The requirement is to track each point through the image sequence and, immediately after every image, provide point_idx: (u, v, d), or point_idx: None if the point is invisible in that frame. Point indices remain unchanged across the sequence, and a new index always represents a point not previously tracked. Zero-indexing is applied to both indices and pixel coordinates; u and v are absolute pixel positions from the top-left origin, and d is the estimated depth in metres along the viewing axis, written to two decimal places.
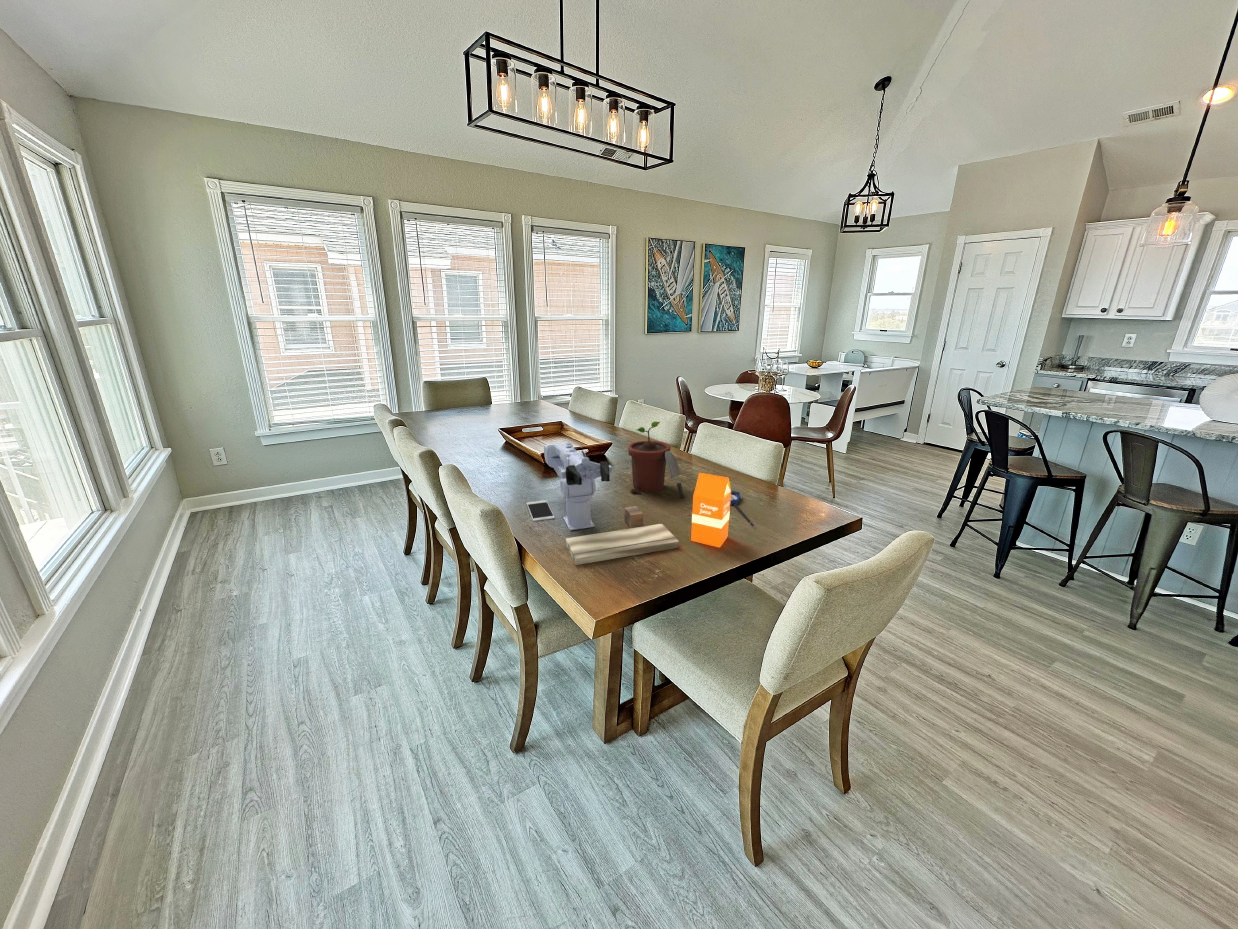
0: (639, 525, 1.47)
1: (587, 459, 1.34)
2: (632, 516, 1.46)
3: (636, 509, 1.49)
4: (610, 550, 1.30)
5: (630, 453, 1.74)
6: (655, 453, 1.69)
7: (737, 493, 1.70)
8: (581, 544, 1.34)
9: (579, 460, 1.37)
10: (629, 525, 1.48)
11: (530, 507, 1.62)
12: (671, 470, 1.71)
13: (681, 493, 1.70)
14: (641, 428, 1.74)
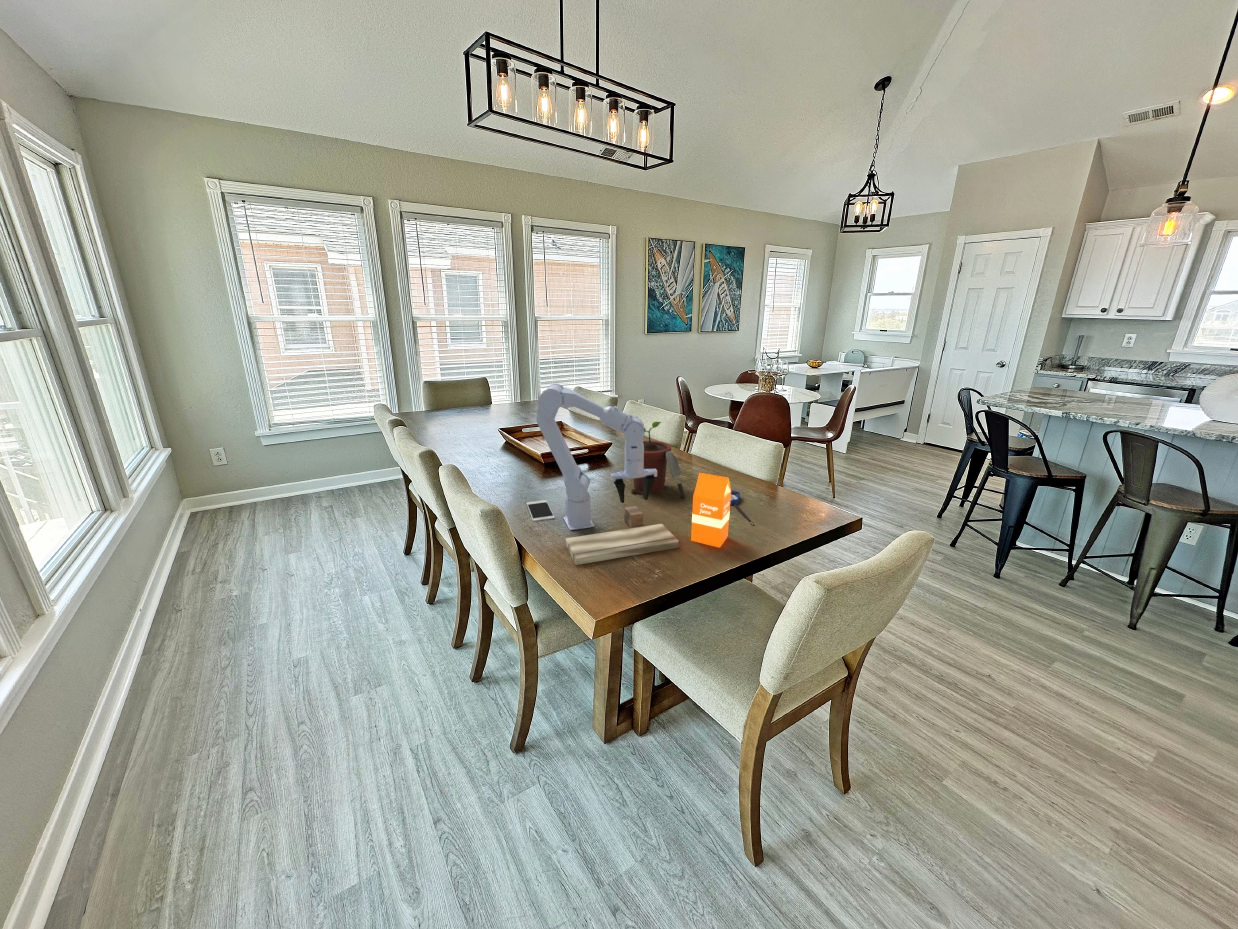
0: (639, 525, 1.47)
1: None
2: (632, 516, 1.46)
3: (636, 509, 1.49)
4: (610, 550, 1.30)
5: None
6: (656, 453, 1.69)
7: (737, 493, 1.70)
8: (581, 544, 1.34)
9: None
10: (629, 525, 1.48)
11: (530, 507, 1.62)
12: (672, 470, 1.71)
13: (682, 493, 1.70)
14: None
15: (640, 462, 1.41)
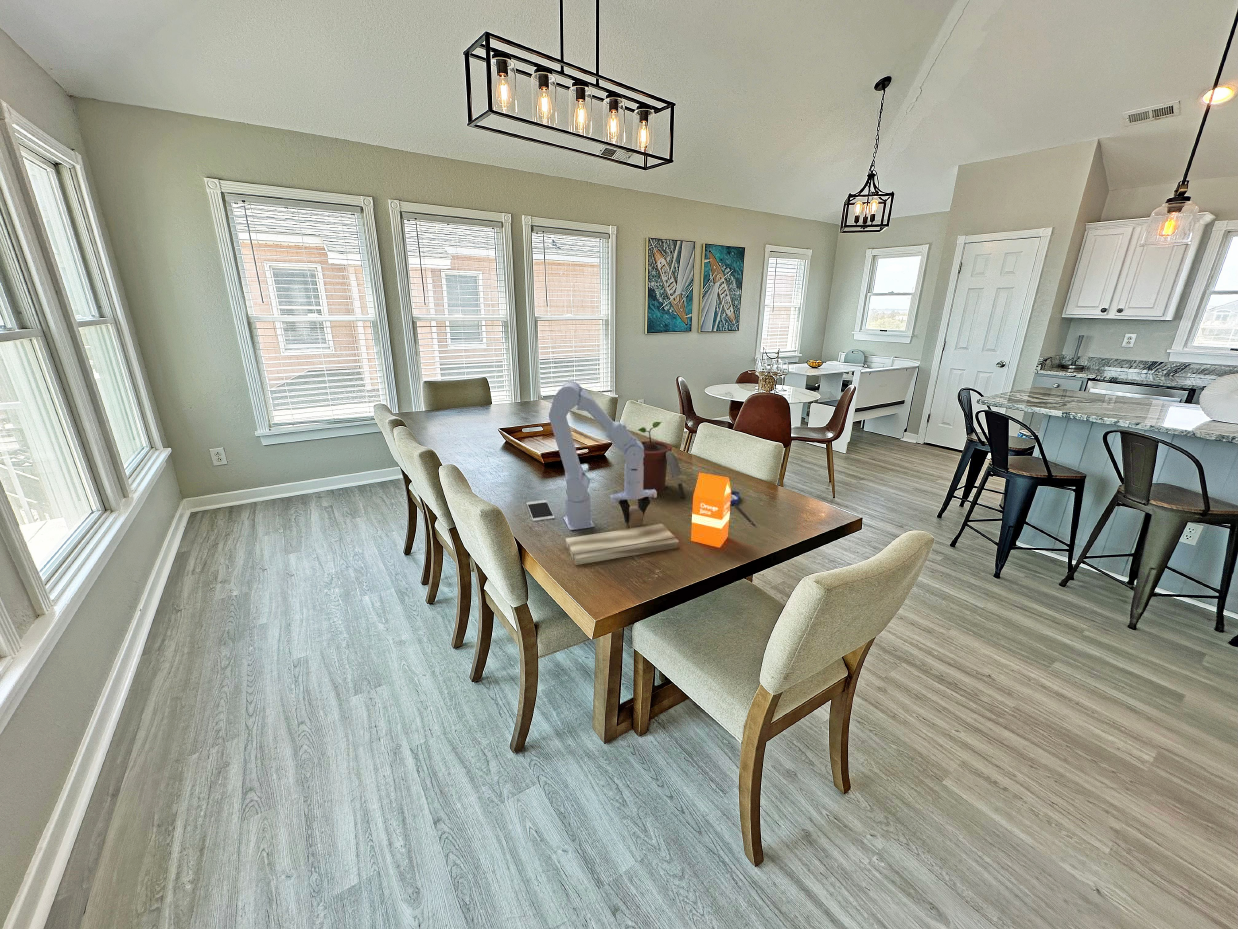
0: (639, 525, 1.47)
1: None
2: (632, 516, 1.46)
3: (636, 509, 1.49)
4: (610, 550, 1.30)
5: None
6: (656, 453, 1.69)
7: (737, 493, 1.70)
8: (581, 544, 1.34)
9: None
10: (629, 525, 1.48)
11: (530, 507, 1.62)
12: (672, 470, 1.71)
13: (682, 493, 1.70)
14: (642, 428, 1.73)
15: (640, 484, 1.44)
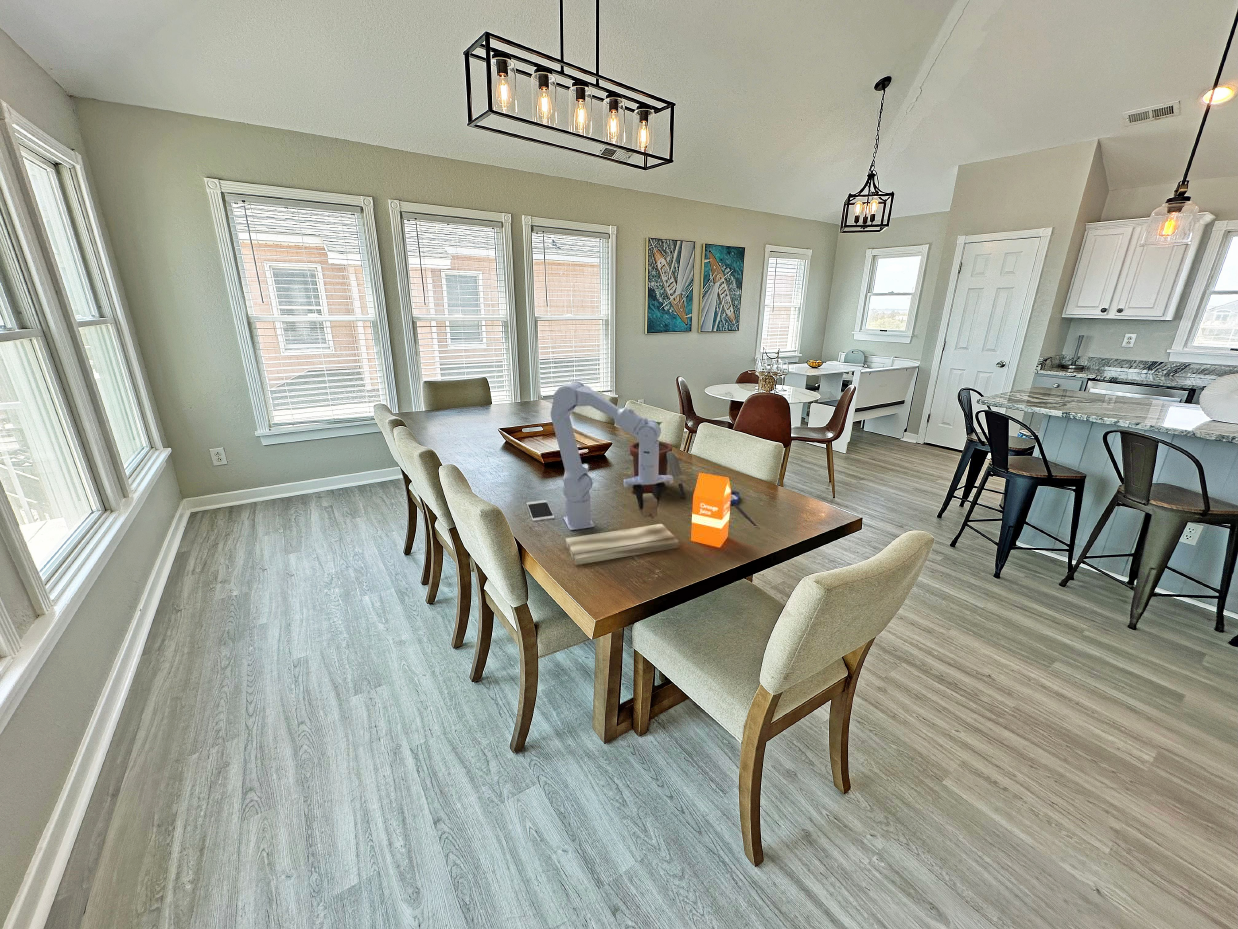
0: (653, 513, 1.40)
1: None
2: (645, 503, 1.38)
3: (650, 496, 1.42)
4: (610, 550, 1.30)
5: (632, 453, 1.74)
6: None
7: (737, 493, 1.70)
8: (581, 544, 1.34)
9: None
10: (642, 513, 1.40)
11: (530, 507, 1.62)
12: (673, 470, 1.71)
13: (682, 493, 1.70)
14: None
15: (654, 468, 1.36)
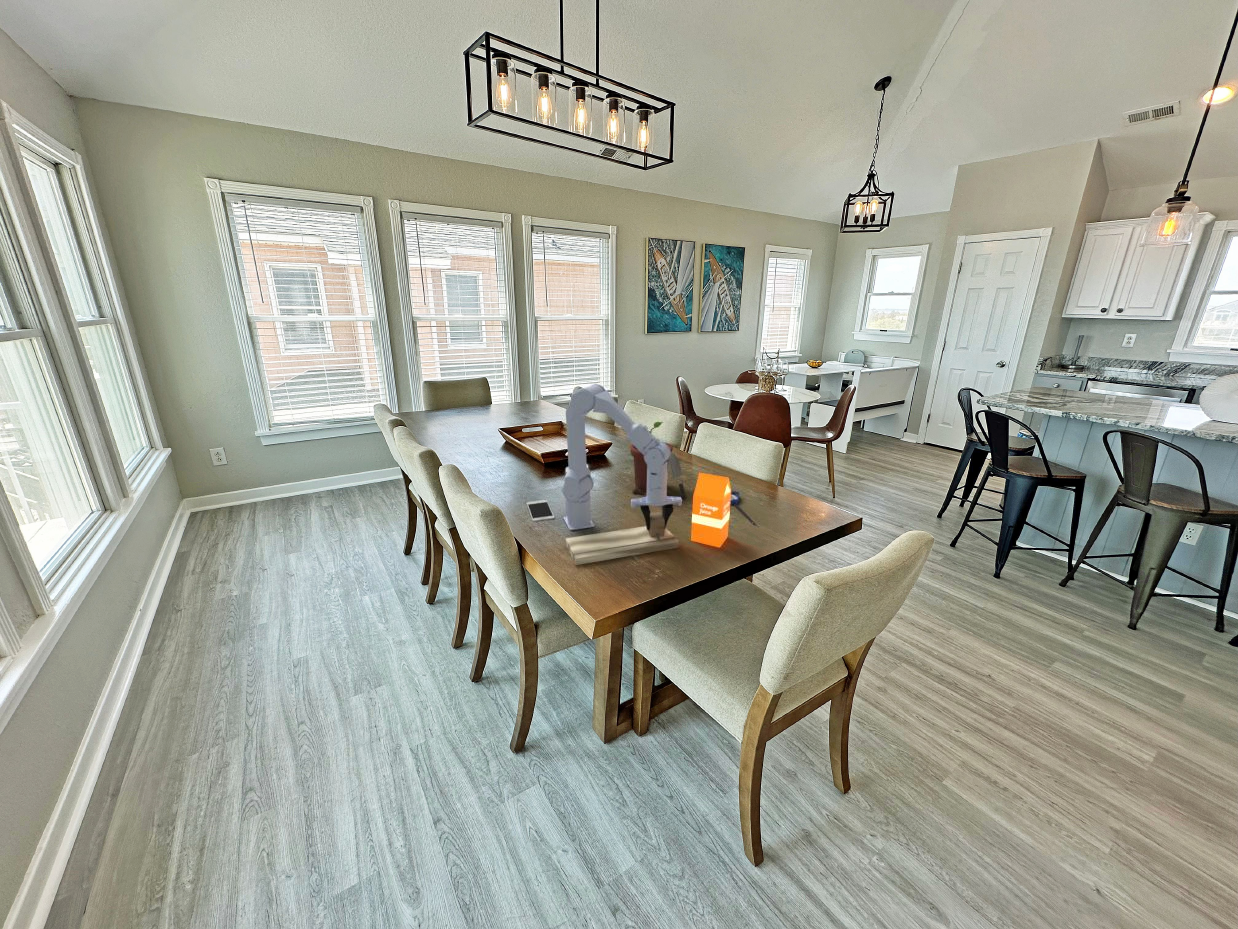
0: (660, 533, 1.38)
1: None
2: (652, 523, 1.36)
3: (658, 515, 1.40)
4: (610, 550, 1.30)
5: (632, 453, 1.73)
6: None
7: (736, 493, 1.70)
8: (581, 544, 1.34)
9: None
10: (649, 532, 1.39)
11: (530, 507, 1.62)
12: (673, 470, 1.71)
13: (683, 494, 1.70)
14: None
15: (662, 490, 1.34)
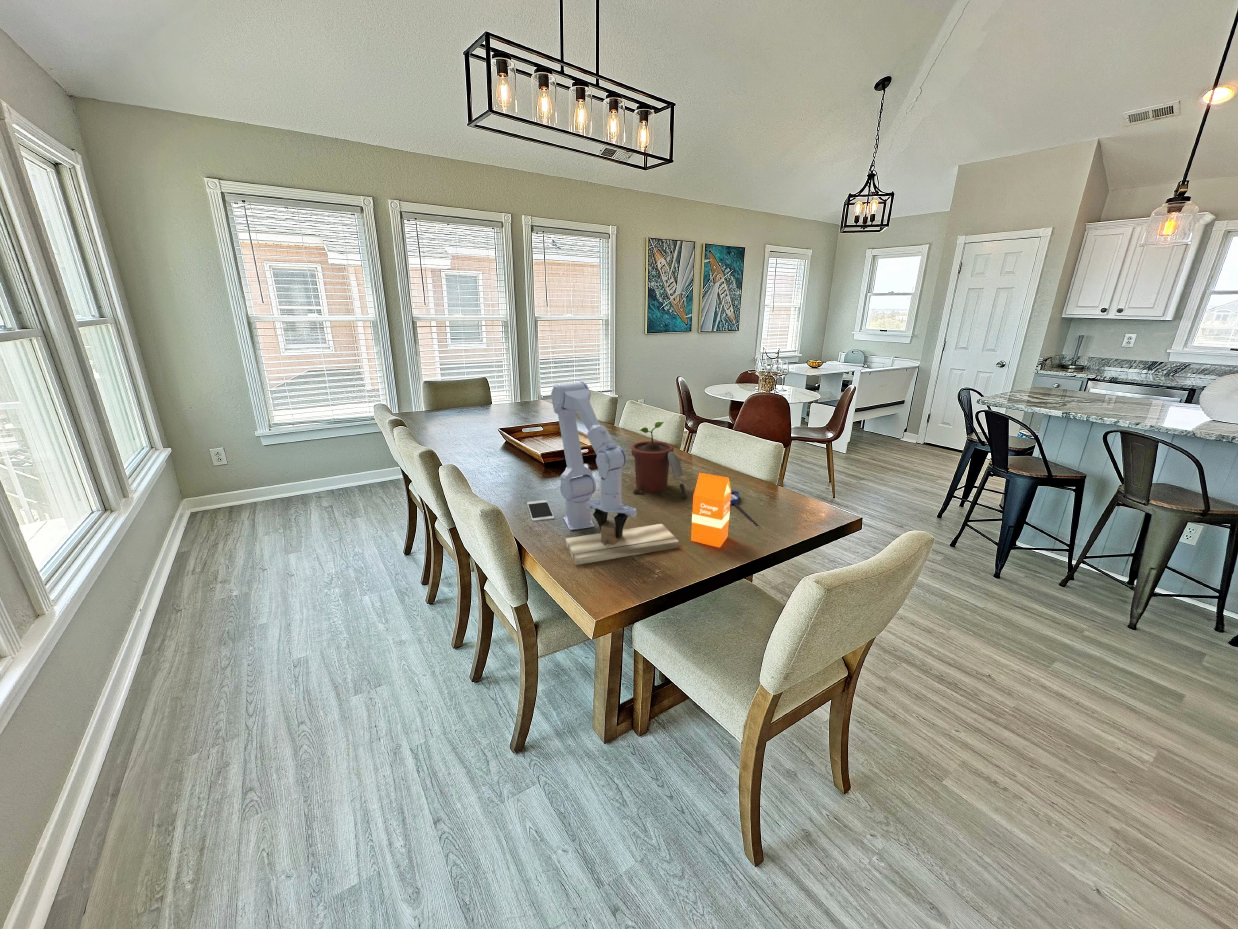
0: (610, 540, 1.33)
1: None
2: (602, 528, 1.33)
3: None
4: (610, 550, 1.30)
5: (633, 453, 1.73)
6: (658, 453, 1.69)
7: (736, 492, 1.70)
8: (581, 544, 1.34)
9: None
10: None
11: (530, 507, 1.62)
12: (674, 471, 1.71)
13: (684, 494, 1.69)
14: (644, 428, 1.73)
15: (610, 496, 1.29)
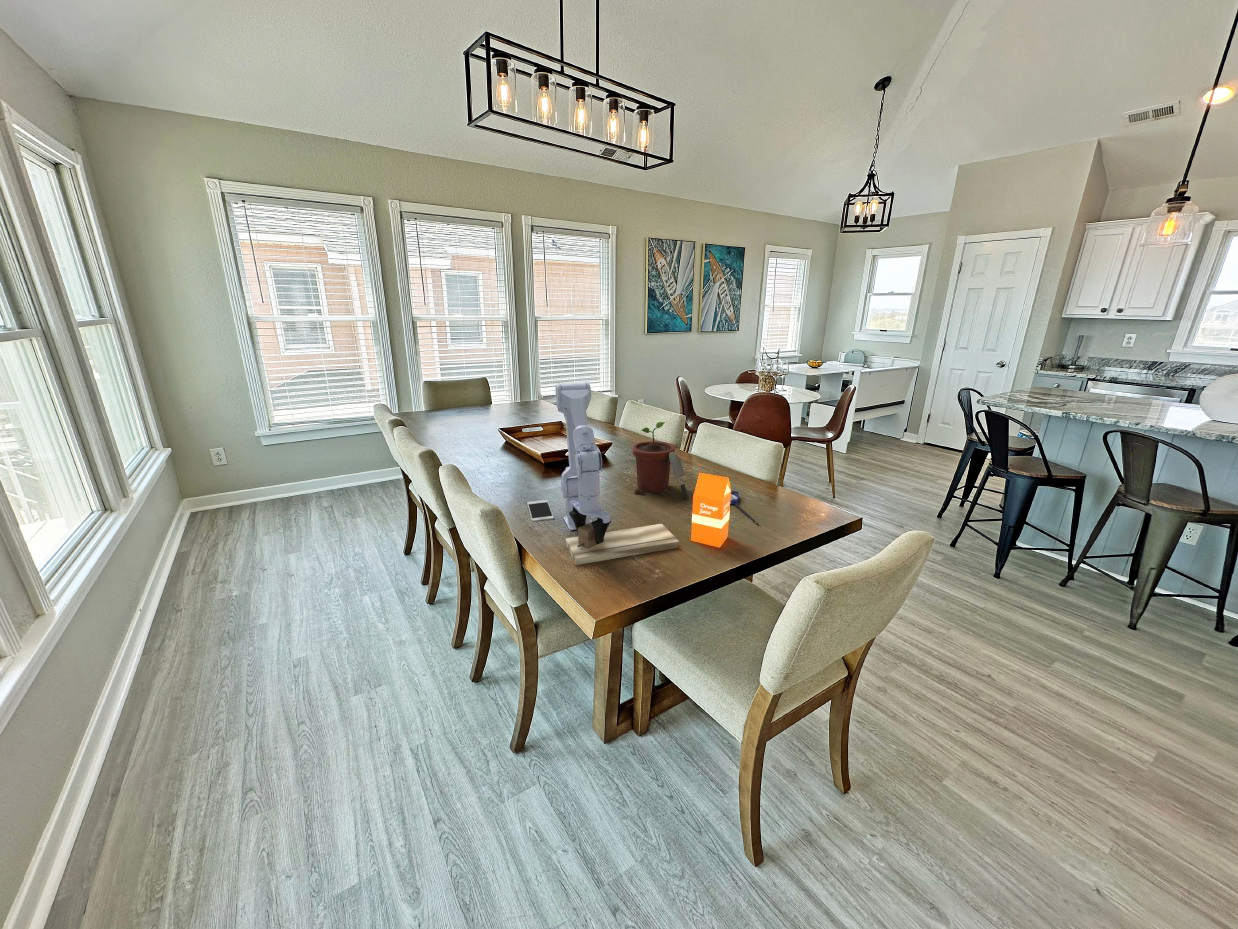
0: (585, 543, 1.32)
1: None
2: (579, 530, 1.32)
3: None
4: (610, 550, 1.30)
5: (634, 453, 1.73)
6: (659, 454, 1.68)
7: (736, 492, 1.70)
8: None
9: None
10: None
11: (530, 507, 1.62)
12: (675, 471, 1.70)
13: (685, 494, 1.69)
14: (646, 428, 1.73)
15: (584, 499, 1.27)
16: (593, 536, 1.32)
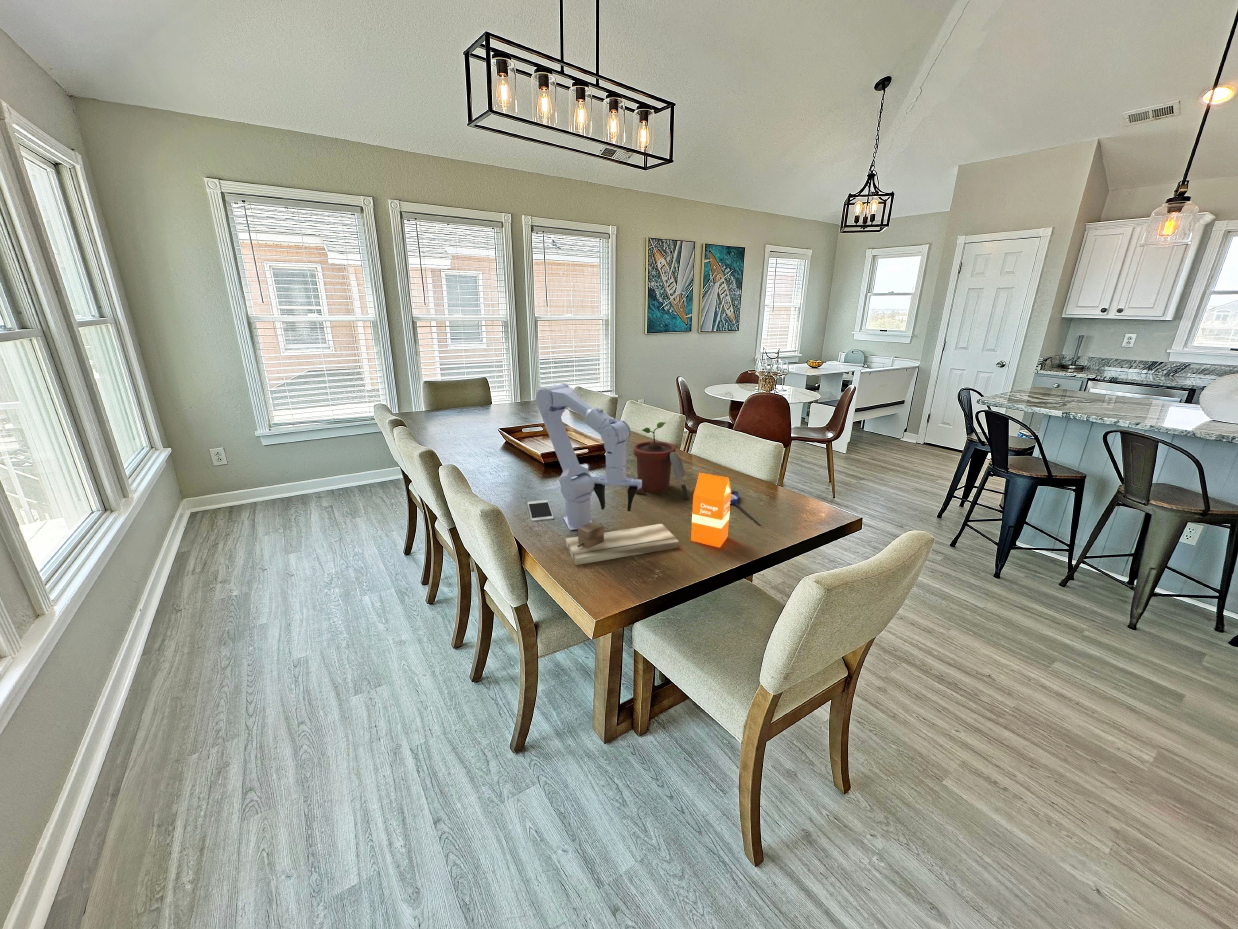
0: (585, 543, 1.32)
1: None
2: (579, 530, 1.32)
3: (594, 527, 1.33)
4: (610, 550, 1.30)
5: (635, 453, 1.73)
6: (660, 454, 1.68)
7: (735, 492, 1.70)
8: None
9: None
10: None
11: (530, 507, 1.62)
12: (676, 471, 1.70)
13: (685, 494, 1.69)
14: (646, 428, 1.73)
15: (618, 470, 1.32)
16: (593, 536, 1.32)
